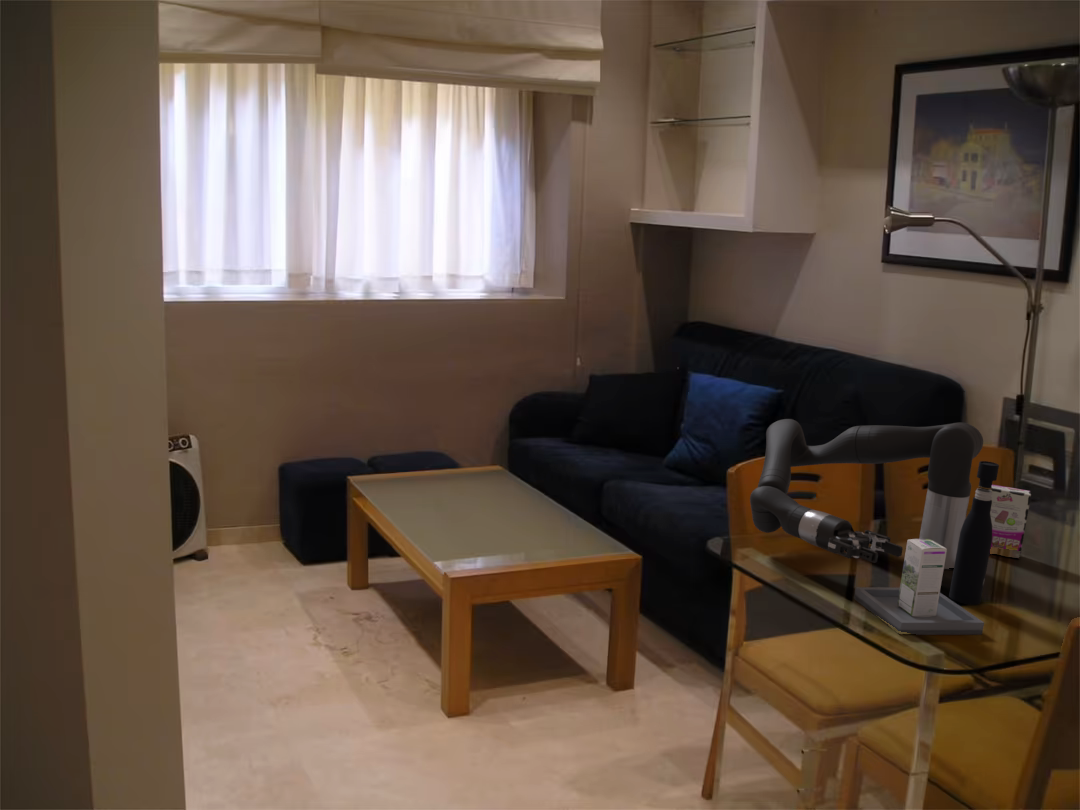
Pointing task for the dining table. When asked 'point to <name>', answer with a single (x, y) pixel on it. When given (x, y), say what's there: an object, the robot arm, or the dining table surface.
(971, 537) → the dark water bottle
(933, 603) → the syrup box
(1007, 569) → the dining table surface
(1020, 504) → the candy bar box
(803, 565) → the dining table surface
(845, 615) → the dining table surface
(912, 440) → the robot arm
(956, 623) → the tray
